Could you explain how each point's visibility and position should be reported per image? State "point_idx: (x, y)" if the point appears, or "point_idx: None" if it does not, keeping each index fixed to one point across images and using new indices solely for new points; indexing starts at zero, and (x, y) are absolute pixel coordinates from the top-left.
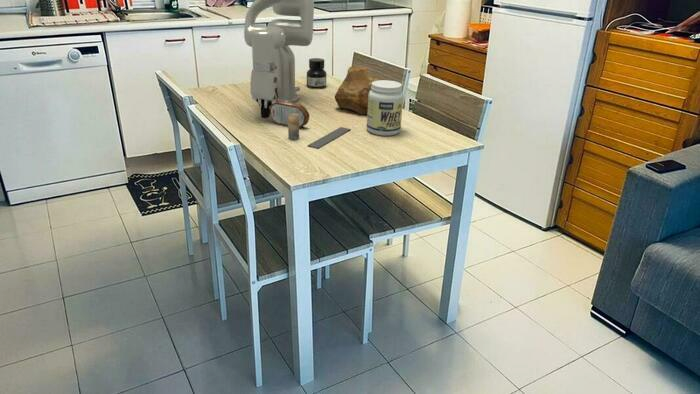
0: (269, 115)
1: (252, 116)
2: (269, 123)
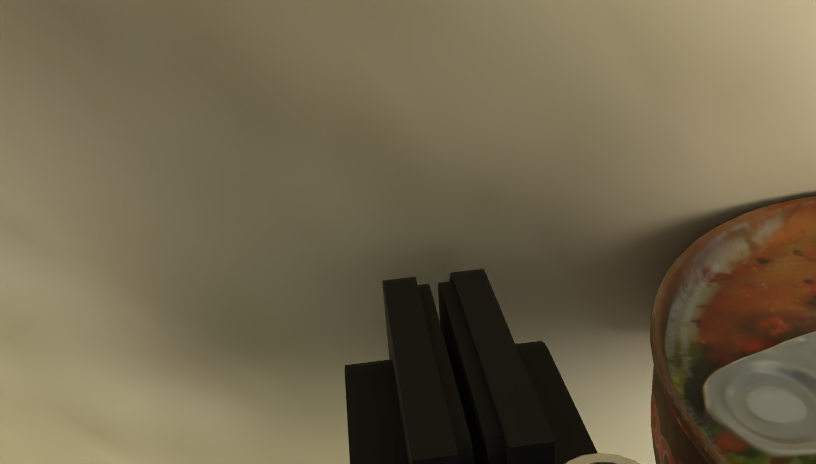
0: (538, 347)
1: (21, 307)
2: (591, 371)
